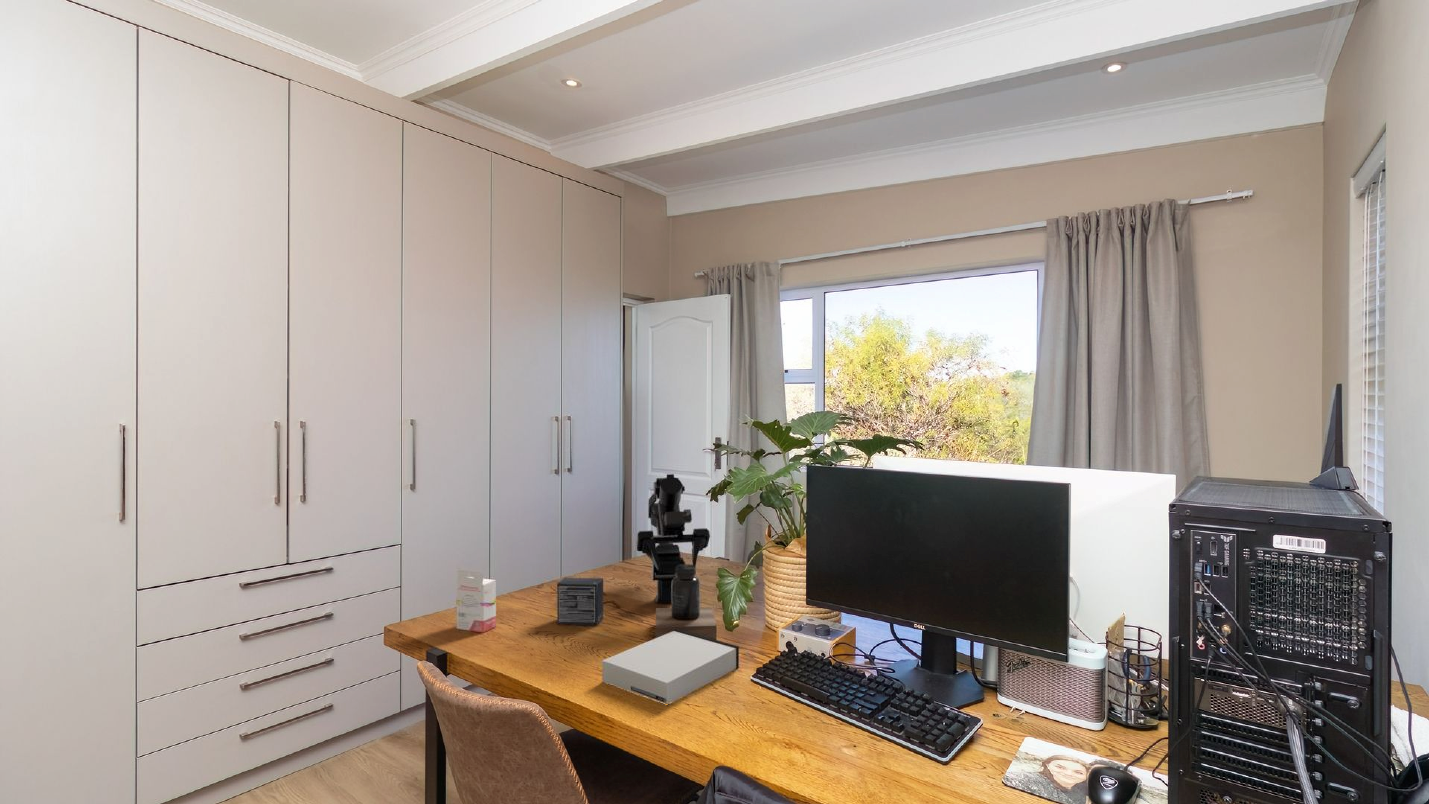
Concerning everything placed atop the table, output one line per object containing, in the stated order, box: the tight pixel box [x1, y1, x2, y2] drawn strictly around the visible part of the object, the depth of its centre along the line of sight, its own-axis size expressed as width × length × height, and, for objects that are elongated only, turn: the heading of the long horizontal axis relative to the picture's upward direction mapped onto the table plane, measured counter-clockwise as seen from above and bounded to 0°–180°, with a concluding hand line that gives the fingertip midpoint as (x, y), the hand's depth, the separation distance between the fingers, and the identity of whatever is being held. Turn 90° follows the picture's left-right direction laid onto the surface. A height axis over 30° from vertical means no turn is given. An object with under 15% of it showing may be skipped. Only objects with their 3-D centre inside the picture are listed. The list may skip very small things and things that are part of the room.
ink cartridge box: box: [455, 568, 497, 633], centre depth 166 cm, size 9×5×15 cm, turn 68°
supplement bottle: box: [670, 563, 701, 621], centre depth 162 cm, size 7×7×12 cm
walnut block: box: [655, 606, 718, 641], centre depth 162 cm, size 14×14×4 cm
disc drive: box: [601, 629, 740, 704], centre depth 138 cm, size 18×22×5 cm
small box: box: [556, 577, 605, 627], centre depth 171 cm, size 11×6×10 cm, turn 84°
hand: (676, 568), depth 171 cm, fingers open, 9 cm apart
